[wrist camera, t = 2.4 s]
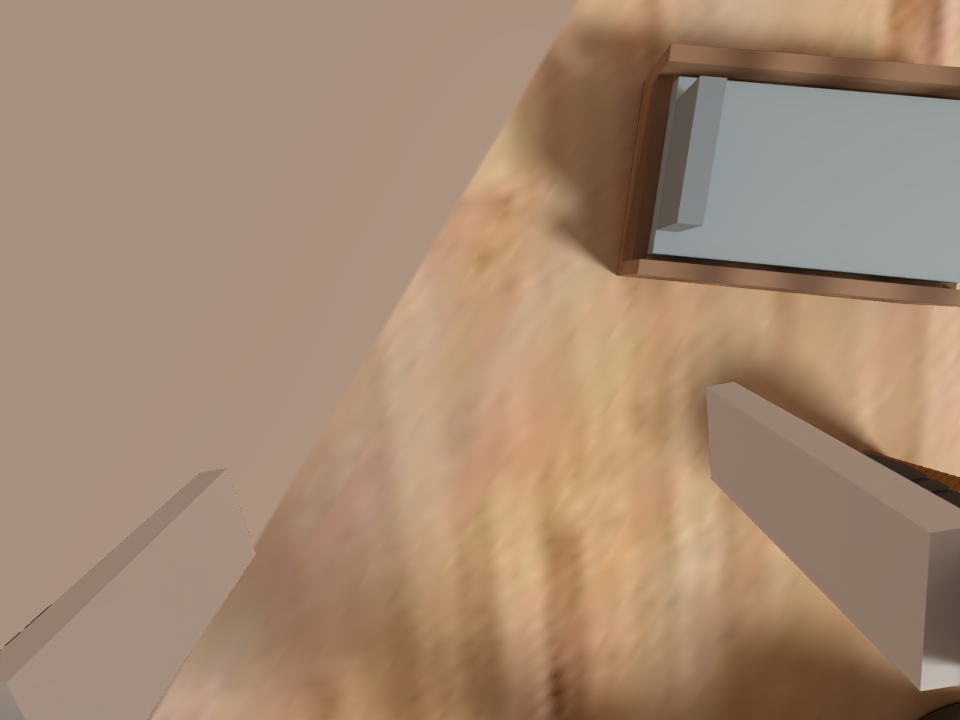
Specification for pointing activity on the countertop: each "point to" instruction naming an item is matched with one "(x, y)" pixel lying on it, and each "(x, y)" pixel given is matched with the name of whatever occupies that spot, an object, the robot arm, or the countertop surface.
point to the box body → (778, 72)
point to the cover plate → (810, 180)
